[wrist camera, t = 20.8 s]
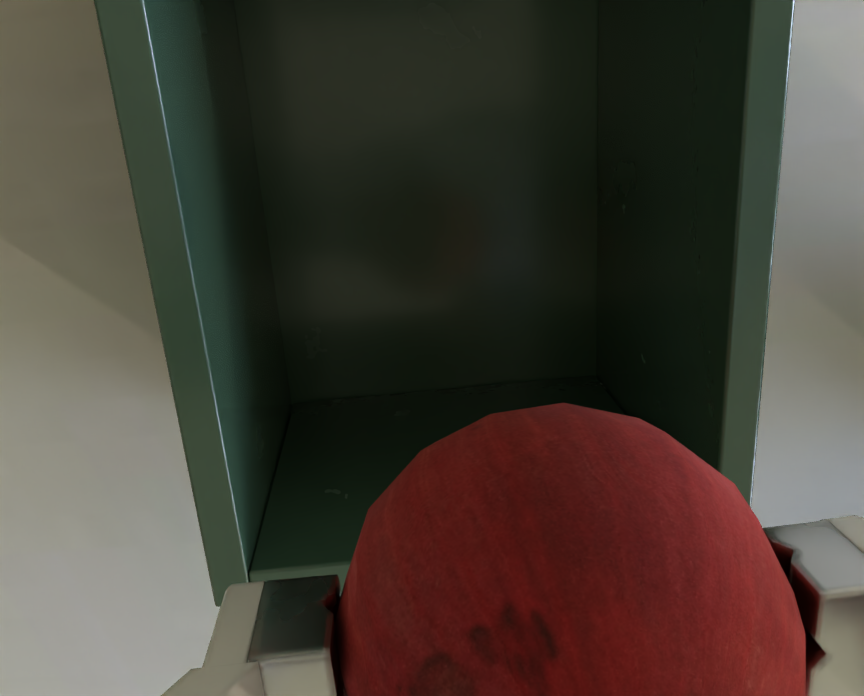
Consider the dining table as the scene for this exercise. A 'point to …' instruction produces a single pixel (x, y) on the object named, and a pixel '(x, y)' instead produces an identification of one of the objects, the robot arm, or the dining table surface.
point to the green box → (442, 235)
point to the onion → (566, 570)
